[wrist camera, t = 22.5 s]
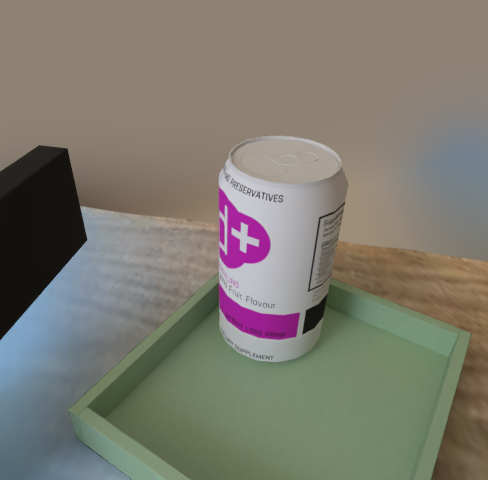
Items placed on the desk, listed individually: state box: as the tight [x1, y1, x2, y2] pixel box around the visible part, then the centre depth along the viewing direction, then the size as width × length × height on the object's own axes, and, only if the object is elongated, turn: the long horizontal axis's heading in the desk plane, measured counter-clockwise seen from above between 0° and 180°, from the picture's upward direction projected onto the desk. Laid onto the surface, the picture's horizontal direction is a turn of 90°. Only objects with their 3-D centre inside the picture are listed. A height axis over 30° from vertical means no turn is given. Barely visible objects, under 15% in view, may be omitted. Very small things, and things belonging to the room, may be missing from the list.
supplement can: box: [219, 136, 348, 362], centre depth 32 cm, size 8×8×15 cm
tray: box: [68, 272, 472, 480], centre depth 31 cm, size 20×21×3 cm
